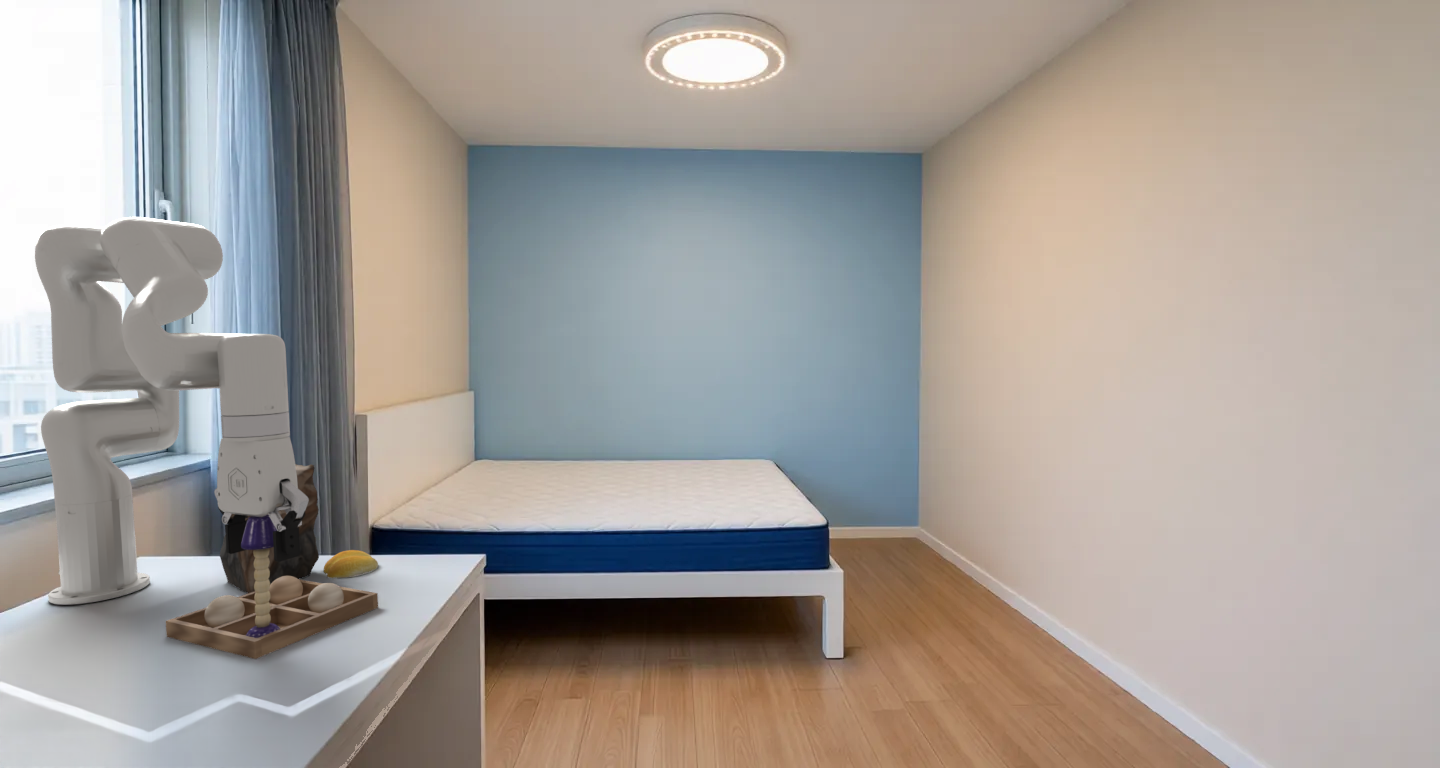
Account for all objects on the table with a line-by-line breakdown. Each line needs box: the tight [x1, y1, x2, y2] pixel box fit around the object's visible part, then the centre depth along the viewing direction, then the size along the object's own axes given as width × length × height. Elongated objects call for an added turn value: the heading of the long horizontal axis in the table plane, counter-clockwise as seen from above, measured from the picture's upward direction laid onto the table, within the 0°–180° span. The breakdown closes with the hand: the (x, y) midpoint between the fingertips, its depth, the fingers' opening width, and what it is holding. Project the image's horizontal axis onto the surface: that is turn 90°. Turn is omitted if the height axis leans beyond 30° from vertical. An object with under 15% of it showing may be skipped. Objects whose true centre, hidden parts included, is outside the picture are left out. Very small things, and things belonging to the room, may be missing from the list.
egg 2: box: [269, 576, 303, 605], centre depth 106 cm, size 5×5×5 cm
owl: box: [219, 463, 320, 594], centre depth 120 cm, size 13×13×20 cm
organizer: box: [165, 579, 379, 660], centre depth 101 cm, size 18×18×3 cm
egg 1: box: [204, 594, 245, 628], centre depth 98 cm, size 5×5×5 cm
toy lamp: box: [241, 514, 280, 638], centre depth 95 cm, size 5×5×17 cm
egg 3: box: [308, 582, 344, 613], centre depth 103 cm, size 5×5×5 cm
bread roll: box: [323, 549, 379, 579], centre depth 124 cm, size 8×9×4 cm
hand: (263, 554), depth 94 cm, fingers open, 9 cm apart
